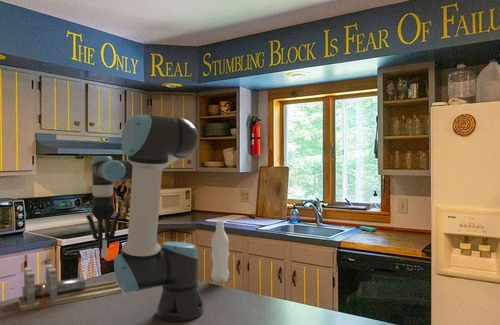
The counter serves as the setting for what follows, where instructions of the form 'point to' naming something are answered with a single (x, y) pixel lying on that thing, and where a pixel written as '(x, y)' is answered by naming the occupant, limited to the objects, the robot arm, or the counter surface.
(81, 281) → the tube
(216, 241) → the water bottle
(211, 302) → the counter surface
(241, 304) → the counter surface
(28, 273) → the rail
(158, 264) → the robot arm
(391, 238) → the counter surface
